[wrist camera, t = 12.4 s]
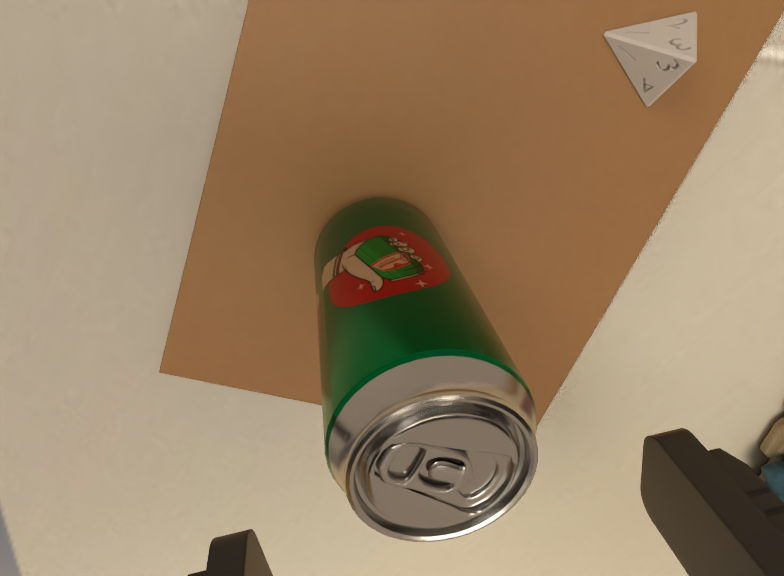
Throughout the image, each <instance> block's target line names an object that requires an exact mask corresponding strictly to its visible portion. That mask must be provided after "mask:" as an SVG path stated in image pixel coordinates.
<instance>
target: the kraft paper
mask: <svg viewBox="0 0 784 576" xmlns="http://www.w3.org/2000/svg"><path fill="white" fill-rule="evenodd" d="M695 11H696V13H697V62H696V63H695V64H693V65H692V66H691V67H690V68H689V69H688V70H687V71H686V72H685V73H684V74H683V75H682V76H681V77H680V78H679V79H678V80H677V81H676V82H675V83H674V84H673V85H671V86H670V87H669V88H668V89H667V90H666V91H665V92H664V93H663V94H662V95H661V96H660V97H659V98H658V99H657V100H656V101H655V102H654V103H653V104H652V105H651V106H648V107H646V105H645V104H644V102H643V100H642V99H641V97H640V95H639V94H638V92H637V90H636V88H635V87H634V85H633V83H632V82H631V80H630V78H629V77H628V75H627V73H626V72H625V70H624V68H623V67H622V65H621V63H620V62H619V60H618V58H617V57H616V55H615V53H614V52H613V50H612V48H611V47H610V45H609V43H608V42H607V40H606V38H605V37H604V33H605V32H606V31H610V30H614V29H619V28H623V27H628V26H632V25H637V24H641V23H646V22H650V21H655V20H659V19H663V18H668V17H672V16H677V15H681V14H686V13H690V12H695ZM783 11H784V0H249V4H248V8H247V12H246V16H245V20H244V24H243V28H242V32H241V37H240V41H239V45H238V49H237V53H236V57H235V61H234V66H233V70H232V74H231V78H230V82H229V86H228V90H227V94H226V99H225V103H224V107H223V111H222V115H221V119H220V123H219V128H218V132H217V136H216V140H215V144H214V148H213V152H212V156H211V161H210V165H209V169H208V173H207V177H206V181H205V185H204V190H203V194H202V198H201V202H200V206H199V210H198V214H197V219H196V223H195V227H194V231H193V235H192V239H191V243H190V247H189V252H188V256H187V260H186V264H185V268H184V272H183V276H182V281H181V285H180V289H179V293H178V297H177V301H176V305H175V309H174V314H173V318H172V322H171V326H170V330H169V334H168V338H167V343H166V347H165V351H164V355H163V359H162V363H161V367H160V371H159V372H160V373H165V374H170V375H175V376H180V377H185V378H190V379H195V380H200V381H205V382H210V383H215V384H220V385H225V386H230V387H234V388H239V389H244V390H249V391H254V392H259V393H264V394H269V395H274V396H279V397H284V398H289V399H294V400H299V401H304V402H309V403H314V404H319V405H322V393H321V375H320V358H319V341H318V324H317V307H316V289H315V272H314V252H315V246H316V243H317V240H318V237H319V235H320V233H321V231H322V229H323V228H324V226H325V225H326V224H327V223H328V221H329V220H330V219H331V218H332V217H333V216H334V215H335V214H336V213H338V212H339V211H340V210H342V209H343V208H345V207H346V206H348V205H351V204H353V203H355V202H358V201H361V200H364V199H369V198H375V197H387V198H393V199H398V200H401V201H404V202H407V203H409V204H411V205H413V206H415V207H416V208H418V209H419V210H420V211H422V212H423V213H424V214H425V215H426V216H427V217H428V218H429V219H430V220H431V222H432V223H433V225H434V226H435V228H436V230H437V231H438V233H439V235H440V237H441V238H442V240H443V242H444V243H445V245H446V247H447V249H448V250H449V252H450V254H451V255H452V257H453V259H454V261H455V262H456V264H457V266H458V267H459V269H460V271H461V273H462V274H463V276H464V278H465V279H466V281H467V283H468V285H469V286H470V288H471V290H472V291H473V293H474V295H475V297H476V298H477V300H478V302H479V303H480V305H481V307H482V309H483V310H484V312H485V314H486V315H487V317H488V319H489V321H490V322H491V324H492V326H493V328H494V329H495V331H496V333H497V334H498V336H499V338H500V340H501V341H502V343H503V345H504V346H505V348H506V350H507V352H508V353H509V355H510V357H511V358H512V360H513V362H514V364H515V365H516V367H517V369H518V370H519V372H520V374H521V376H522V377H523V379H524V381H525V382H526V384H527V386H528V388H529V389H530V392H531V394H532V397H533V399H534V401H535V406H536V411H537V425H538V424H539V422H540V420H541V419H542V417H543V415H544V414H545V412H546V410H547V408H548V407H549V405H550V403H551V402H552V400H553V398H554V397H555V395H556V393H557V392H558V390H559V388H560V387H561V385H562V383H563V382H564V380H565V378H566V376H567V375H568V373H569V371H570V370H571V368H572V366H573V365H574V363H575V361H576V360H577V358H578V356H579V355H580V353H581V351H582V350H583V348H584V346H585V344H586V343H587V341H588V339H589V338H590V336H591V334H592V333H593V331H594V329H595V328H596V326H597V324H598V323H599V321H600V319H601V318H602V316H603V314H604V312H605V311H606V309H607V307H608V306H609V304H610V302H611V301H612V299H613V297H614V296H615V294H616V292H617V291H618V289H619V287H620V286H621V284H622V282H623V281H624V279H625V277H626V275H627V274H628V272H629V270H630V269H631V267H632V265H633V264H634V262H635V260H636V259H637V257H638V255H639V254H640V252H641V250H642V249H643V247H644V245H645V243H646V242H647V240H648V238H649V237H650V235H651V233H652V232H653V230H654V228H655V227H656V225H657V223H658V222H659V220H660V218H661V217H662V215H663V213H664V211H665V210H666V208H667V206H668V205H669V203H670V201H671V200H672V198H673V196H674V195H675V193H676V191H677V190H678V188H679V186H680V185H681V183H682V181H683V179H684V178H685V176H686V174H687V173H688V171H689V169H690V168H691V166H692V164H693V163H694V161H695V159H696V158H697V156H698V154H699V153H700V151H701V149H702V147H703V146H704V144H705V142H706V141H707V139H708V137H709V136H710V134H711V132H712V131H713V129H714V127H715V126H716V124H717V122H718V121H719V119H720V117H721V115H722V114H723V112H724V110H725V109H726V107H727V105H728V104H729V102H730V100H731V99H732V97H733V95H734V94H735V92H736V90H737V89H738V87H739V85H740V83H741V82H742V80H743V78H744V77H745V75H746V73H747V72H748V70H749V68H750V67H751V65H752V63H753V62H754V60H755V58H756V57H757V55H758V53H759V51H760V50H761V48H762V46H763V45H764V43H765V41H766V40H767V38H768V36H769V35H770V33H771V31H772V30H773V28H774V26H775V25H776V23H777V21H778V19H779V18H780V16H781V14H782V13H783Z"/></svg>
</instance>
